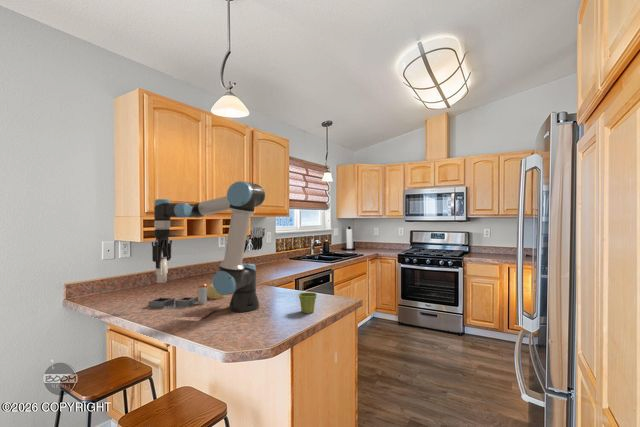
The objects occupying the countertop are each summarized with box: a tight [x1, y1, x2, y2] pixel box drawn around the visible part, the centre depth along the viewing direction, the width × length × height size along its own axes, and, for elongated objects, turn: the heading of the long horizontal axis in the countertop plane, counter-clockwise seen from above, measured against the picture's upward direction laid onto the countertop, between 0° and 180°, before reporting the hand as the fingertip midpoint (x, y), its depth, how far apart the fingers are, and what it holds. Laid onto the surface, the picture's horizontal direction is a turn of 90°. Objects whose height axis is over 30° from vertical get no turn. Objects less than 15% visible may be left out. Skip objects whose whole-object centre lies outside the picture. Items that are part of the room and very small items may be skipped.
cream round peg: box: [156, 256, 168, 284], centre depth 165 cm, size 4×4×13 cm
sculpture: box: [207, 282, 228, 300], centre depth 183 cm, size 11×12×11 cm
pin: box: [197, 283, 208, 306], centre depth 169 cm, size 4×4×12 cm
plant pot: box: [297, 291, 318, 314], centre depth 159 cm, size 9×9×9 cm
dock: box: [147, 296, 198, 310], centre depth 167 cm, size 20×14×4 cm
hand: (162, 273), depth 165 cm, fingers closed on cream round peg, 4 cm apart
